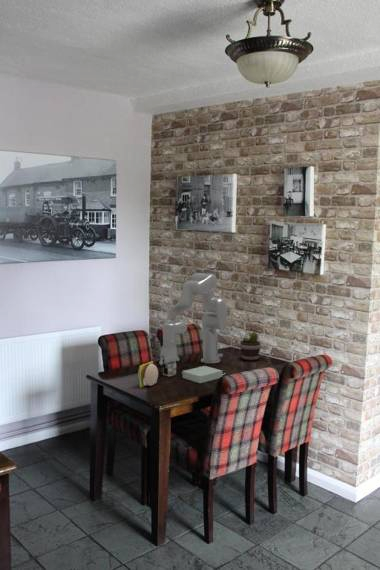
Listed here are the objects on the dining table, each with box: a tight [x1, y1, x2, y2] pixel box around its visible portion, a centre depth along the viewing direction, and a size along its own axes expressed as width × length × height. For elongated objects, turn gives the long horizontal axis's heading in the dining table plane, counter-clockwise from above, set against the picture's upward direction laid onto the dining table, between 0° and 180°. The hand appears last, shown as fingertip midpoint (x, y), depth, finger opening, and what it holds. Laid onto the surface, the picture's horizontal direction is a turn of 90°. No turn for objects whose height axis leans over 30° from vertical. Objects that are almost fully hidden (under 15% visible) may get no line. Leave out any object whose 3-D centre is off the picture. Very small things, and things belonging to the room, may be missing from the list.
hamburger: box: [137, 360, 159, 388], centre depth 314 cm, size 12×8×12 cm
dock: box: [182, 365, 224, 384], centre depth 328 cm, size 18×15×4 cm
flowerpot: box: [238, 330, 262, 362], centre depth 370 cm, size 14×15×20 cm
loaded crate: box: [162, 362, 177, 377], centre depth 335 cm, size 6×6×7 cm
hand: (169, 372), depth 335 cm, fingers closed on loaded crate, 5 cm apart
